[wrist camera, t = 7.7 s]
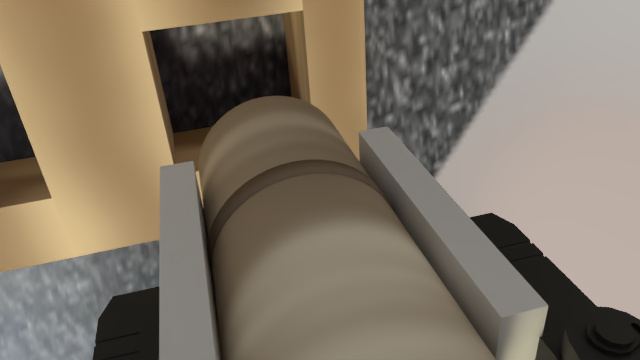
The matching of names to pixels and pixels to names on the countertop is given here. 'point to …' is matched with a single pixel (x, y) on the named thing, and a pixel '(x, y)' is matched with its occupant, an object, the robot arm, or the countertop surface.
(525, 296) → the robot arm
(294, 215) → the peg
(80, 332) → the countertop surface
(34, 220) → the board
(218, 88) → the countertop surface
